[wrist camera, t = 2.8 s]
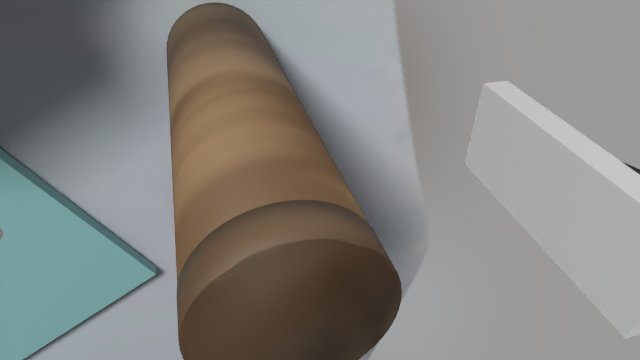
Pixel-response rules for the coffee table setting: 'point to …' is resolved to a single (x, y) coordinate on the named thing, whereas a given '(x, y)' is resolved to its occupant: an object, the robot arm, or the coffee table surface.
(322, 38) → the coffee table surface
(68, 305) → the key mat
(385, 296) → the key peg
